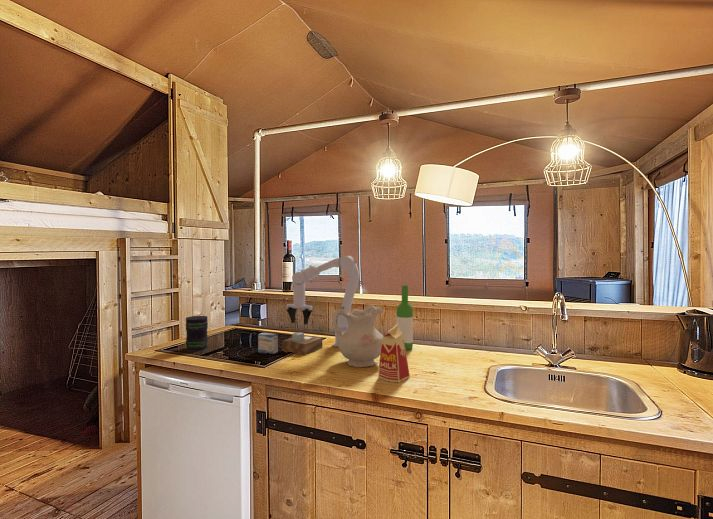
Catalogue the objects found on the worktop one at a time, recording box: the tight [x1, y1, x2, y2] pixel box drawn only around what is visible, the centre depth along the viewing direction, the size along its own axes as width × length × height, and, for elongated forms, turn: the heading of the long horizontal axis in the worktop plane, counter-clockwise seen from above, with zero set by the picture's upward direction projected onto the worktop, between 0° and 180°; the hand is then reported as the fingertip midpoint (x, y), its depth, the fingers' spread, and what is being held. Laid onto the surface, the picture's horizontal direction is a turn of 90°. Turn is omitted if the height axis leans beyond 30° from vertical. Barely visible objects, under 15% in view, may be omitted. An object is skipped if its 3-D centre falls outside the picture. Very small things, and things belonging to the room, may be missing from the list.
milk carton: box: [377, 323, 411, 384], centre depth 150 cm, size 9×9×20 cm
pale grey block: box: [291, 331, 305, 343], centre depth 187 cm, size 4×4×5 cm
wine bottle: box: [396, 285, 414, 351], centre depth 192 cm, size 8×8×30 cm
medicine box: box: [257, 332, 279, 355], centre depth 186 cm, size 8×4×9 cm, turn 73°
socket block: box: [281, 334, 323, 356], centre depth 190 cm, size 13×14×5 cm
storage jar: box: [185, 315, 209, 352], centre depth 192 cm, size 10×10×15 cm
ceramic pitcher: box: [332, 304, 384, 369], centre depth 168 cm, size 22×20×25 cm
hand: (299, 323), depth 201 cm, fingers open, 7 cm apart
